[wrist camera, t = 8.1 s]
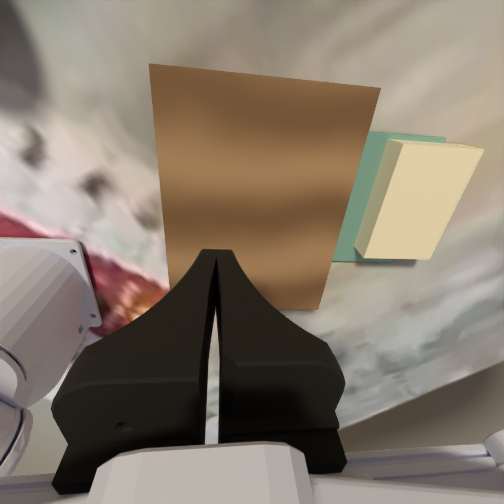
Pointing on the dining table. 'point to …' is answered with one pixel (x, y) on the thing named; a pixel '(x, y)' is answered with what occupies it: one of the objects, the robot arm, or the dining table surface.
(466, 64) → the dining table surface
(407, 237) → the cream rectangular block
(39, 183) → the dining table surface
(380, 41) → the dining table surface
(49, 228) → the dining table surface
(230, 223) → the brown wooden flat block
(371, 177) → the mat
